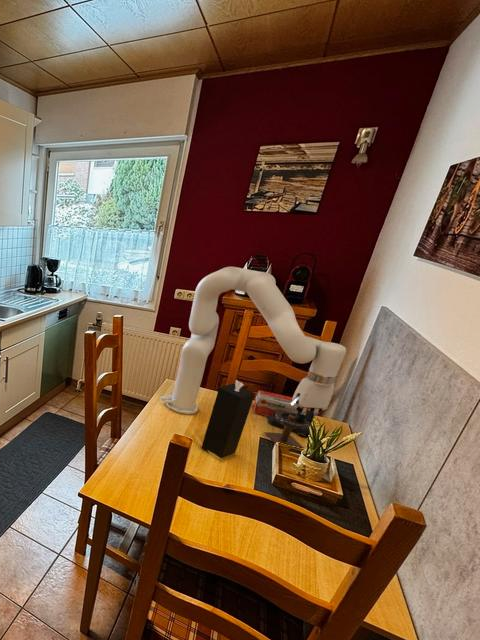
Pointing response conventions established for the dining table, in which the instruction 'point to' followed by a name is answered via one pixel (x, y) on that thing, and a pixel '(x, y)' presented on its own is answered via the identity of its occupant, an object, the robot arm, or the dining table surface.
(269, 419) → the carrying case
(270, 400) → the medicine box
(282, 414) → the ring
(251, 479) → the dining table surface
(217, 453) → the tissue box
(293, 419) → the post
